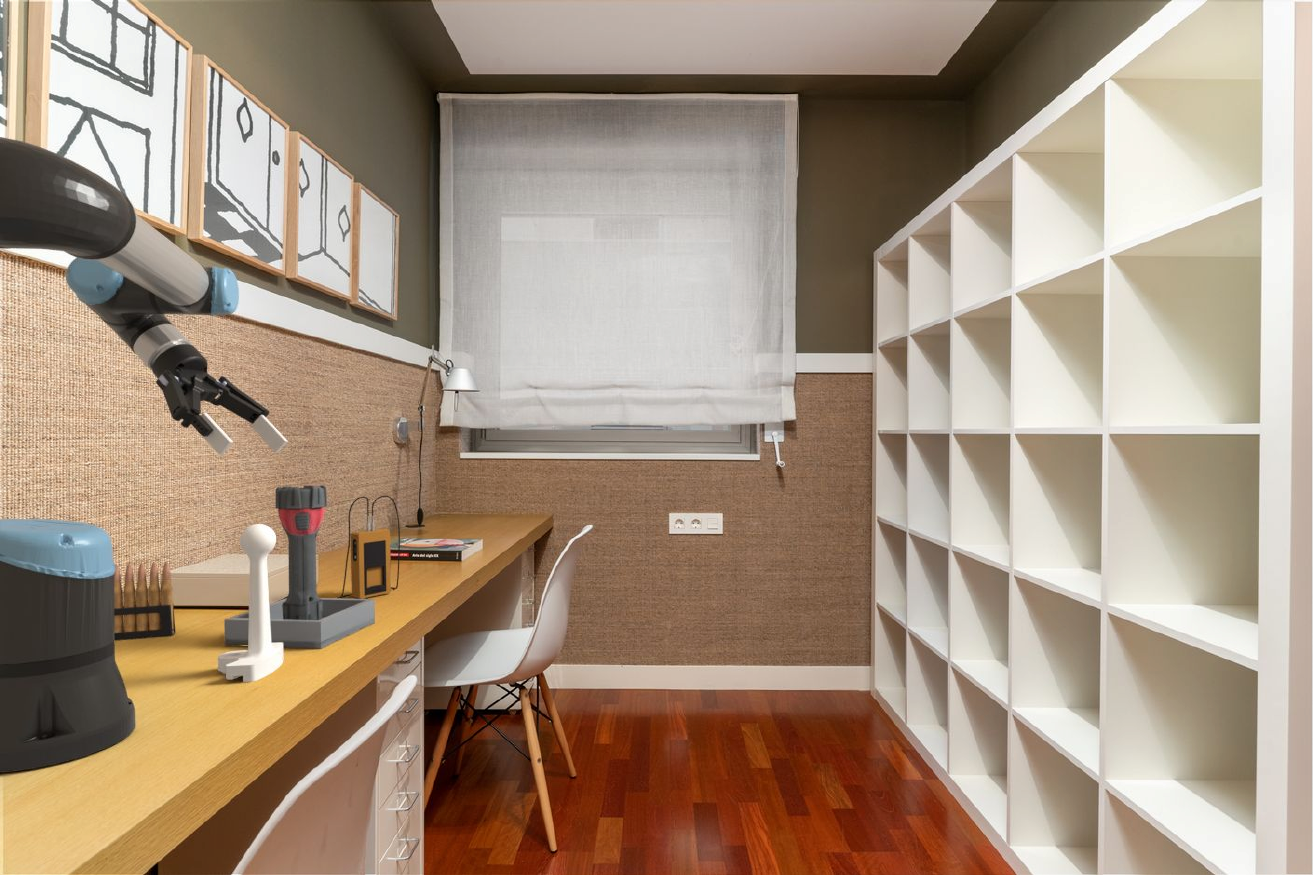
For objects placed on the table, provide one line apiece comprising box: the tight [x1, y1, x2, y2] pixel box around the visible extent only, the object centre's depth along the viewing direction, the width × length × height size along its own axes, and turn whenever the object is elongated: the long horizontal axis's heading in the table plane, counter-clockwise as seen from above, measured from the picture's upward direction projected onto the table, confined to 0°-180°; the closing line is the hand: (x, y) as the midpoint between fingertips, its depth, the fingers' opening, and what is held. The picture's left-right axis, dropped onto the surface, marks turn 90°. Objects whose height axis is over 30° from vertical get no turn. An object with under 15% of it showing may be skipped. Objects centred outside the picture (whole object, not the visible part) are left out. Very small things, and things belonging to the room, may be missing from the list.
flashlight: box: [275, 484, 328, 620], centre depth 126 cm, size 8×8×23 cm
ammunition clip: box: [114, 561, 177, 642], centre depth 126 cm, size 11×2×12 cm, turn 107°
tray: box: [223, 597, 376, 650], centre depth 127 cm, size 16×16×4 cm
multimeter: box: [337, 495, 401, 599], centre depth 157 cm, size 15×10×20 cm
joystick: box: [217, 523, 284, 683], centre depth 107 cm, size 11×8×20 cm
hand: (255, 447), depth 128 cm, fingers open, 13 cm apart
